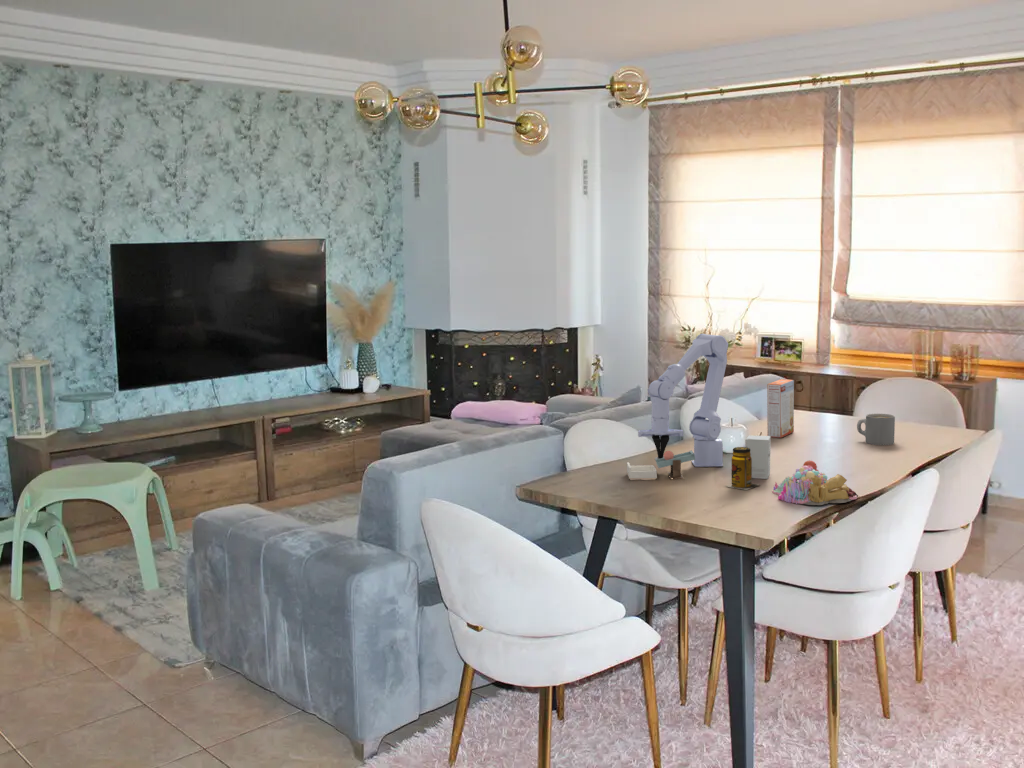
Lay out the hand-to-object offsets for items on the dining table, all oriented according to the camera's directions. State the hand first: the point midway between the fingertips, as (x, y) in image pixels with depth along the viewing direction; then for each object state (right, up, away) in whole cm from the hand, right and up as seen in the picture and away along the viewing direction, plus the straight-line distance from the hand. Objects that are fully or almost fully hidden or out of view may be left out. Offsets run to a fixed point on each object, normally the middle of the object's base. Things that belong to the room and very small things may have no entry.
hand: (660, 458), depth 326 cm
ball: (+2, +1, -7) cm, 8 cm away
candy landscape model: (+39, -9, -35) cm, 53 cm away
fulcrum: (+4, -6, -6) cm, 9 cm away
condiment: (+22, -7, -21) cm, 32 cm away
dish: (-7, -6, -6) cm, 11 cm away
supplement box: (+30, -5, -8) cm, 32 cm away
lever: (+4, 0, -4) cm, 5 cm away
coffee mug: (+86, +3, +41) cm, 95 cm away
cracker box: (+55, +4, +59) cm, 81 cm away
